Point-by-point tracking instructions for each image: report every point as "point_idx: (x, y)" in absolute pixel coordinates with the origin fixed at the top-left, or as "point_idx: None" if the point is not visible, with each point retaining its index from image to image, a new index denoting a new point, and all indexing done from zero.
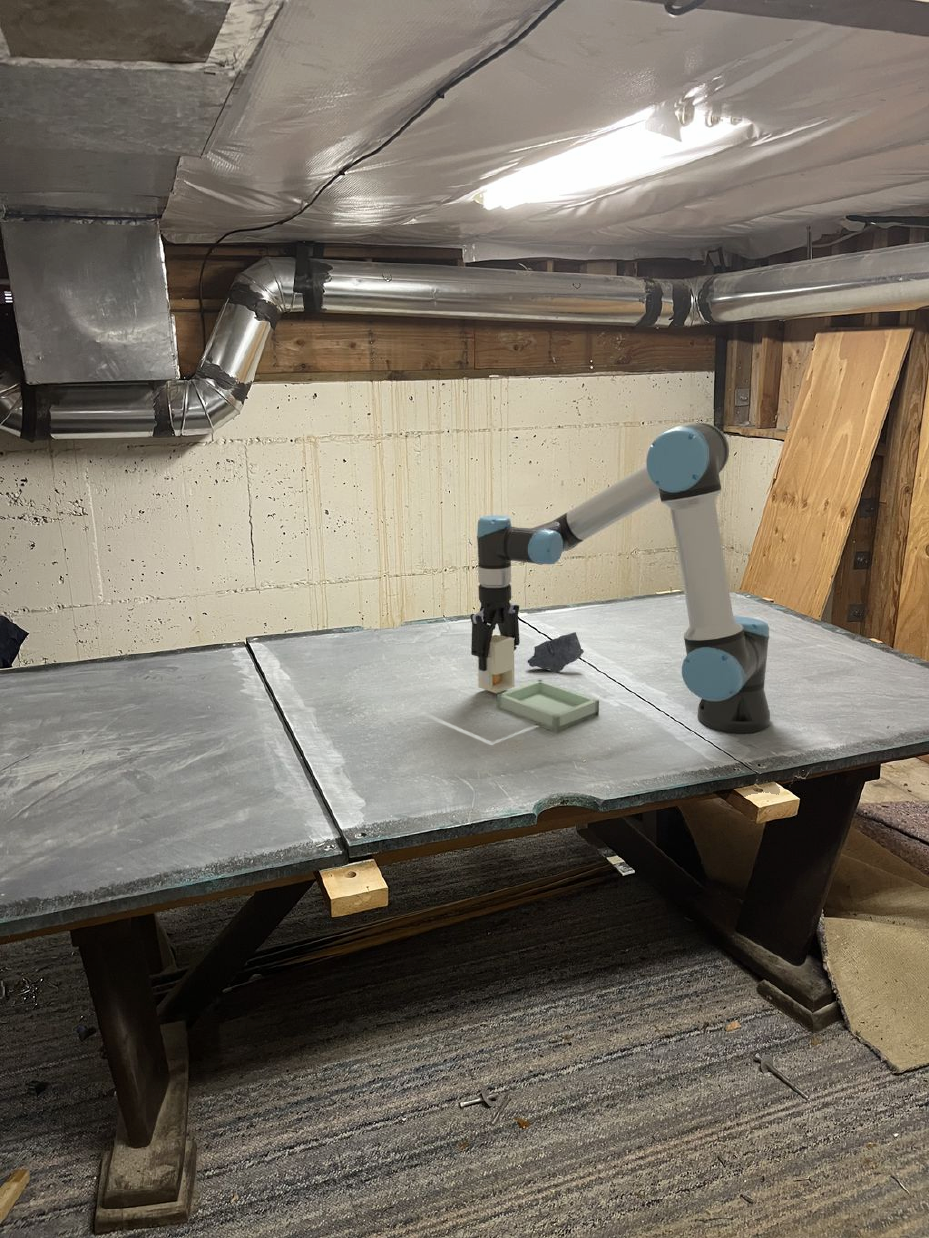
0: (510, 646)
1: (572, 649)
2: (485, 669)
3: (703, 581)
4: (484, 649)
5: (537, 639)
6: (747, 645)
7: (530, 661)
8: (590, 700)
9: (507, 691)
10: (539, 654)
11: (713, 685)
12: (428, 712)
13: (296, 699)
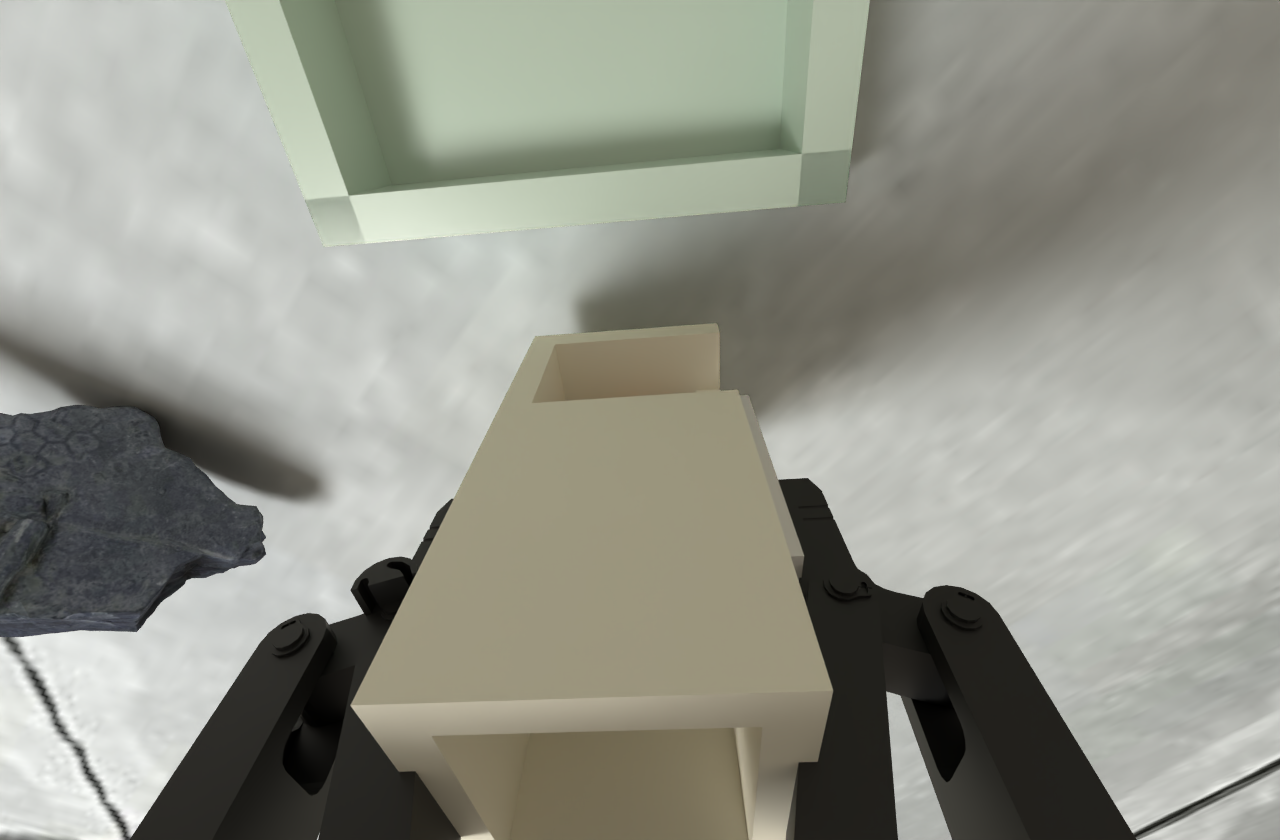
0: (479, 589)
1: None
2: (785, 487)
3: None
4: (881, 672)
5: (108, 716)
6: None
7: (245, 542)
8: None
9: (725, 204)
10: (145, 555)
11: None
12: (1105, 414)
13: (1215, 754)
